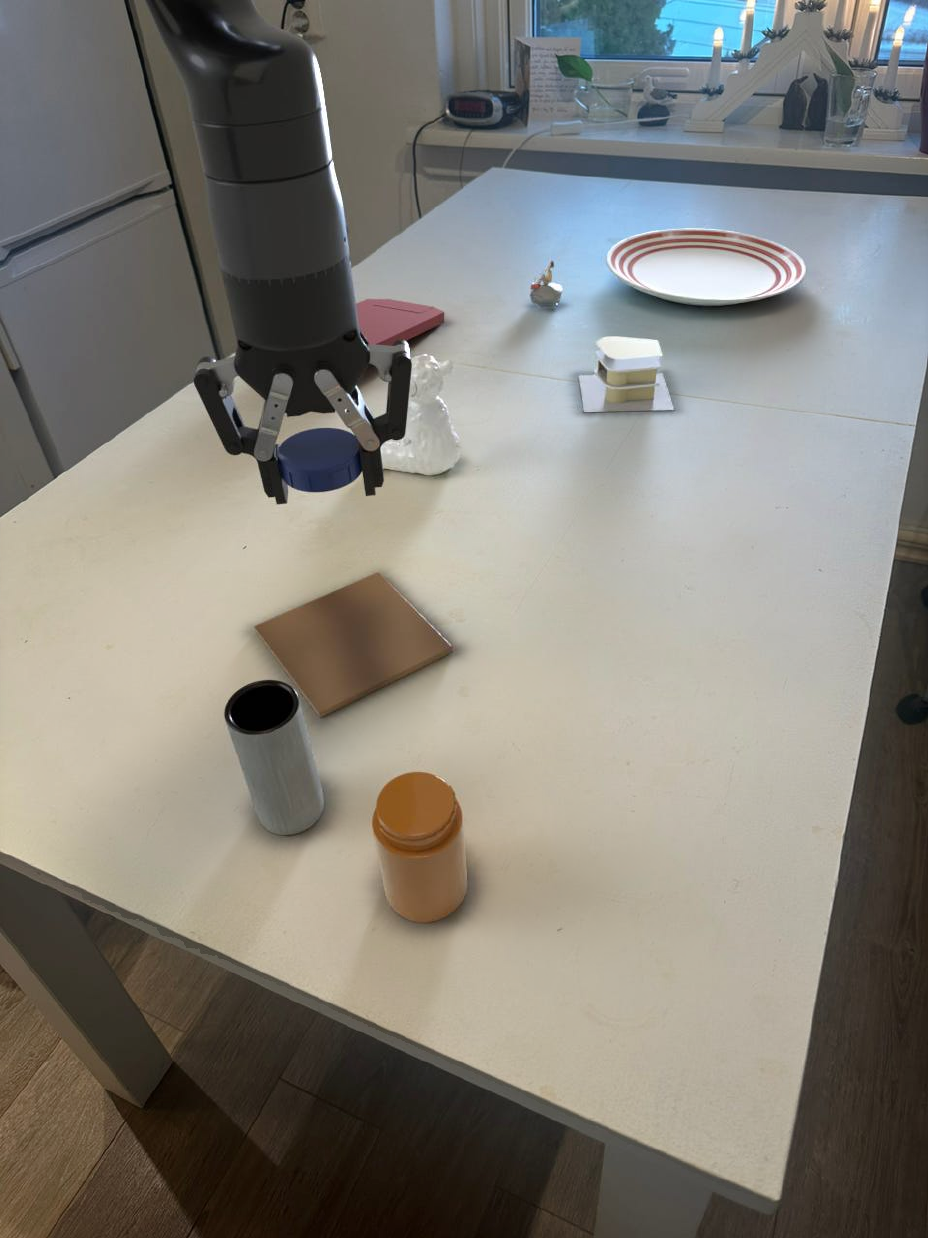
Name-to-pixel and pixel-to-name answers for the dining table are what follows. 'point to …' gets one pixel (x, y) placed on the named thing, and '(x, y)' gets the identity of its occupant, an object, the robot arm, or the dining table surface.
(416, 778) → the honey jar
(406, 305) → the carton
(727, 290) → the dinner plate
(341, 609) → the cork coaster
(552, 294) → the figurine
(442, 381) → the white creature statuette
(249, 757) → the grey tumbler
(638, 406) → the stacked layers on plate
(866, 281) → the dining table surface
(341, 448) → the jar lid
